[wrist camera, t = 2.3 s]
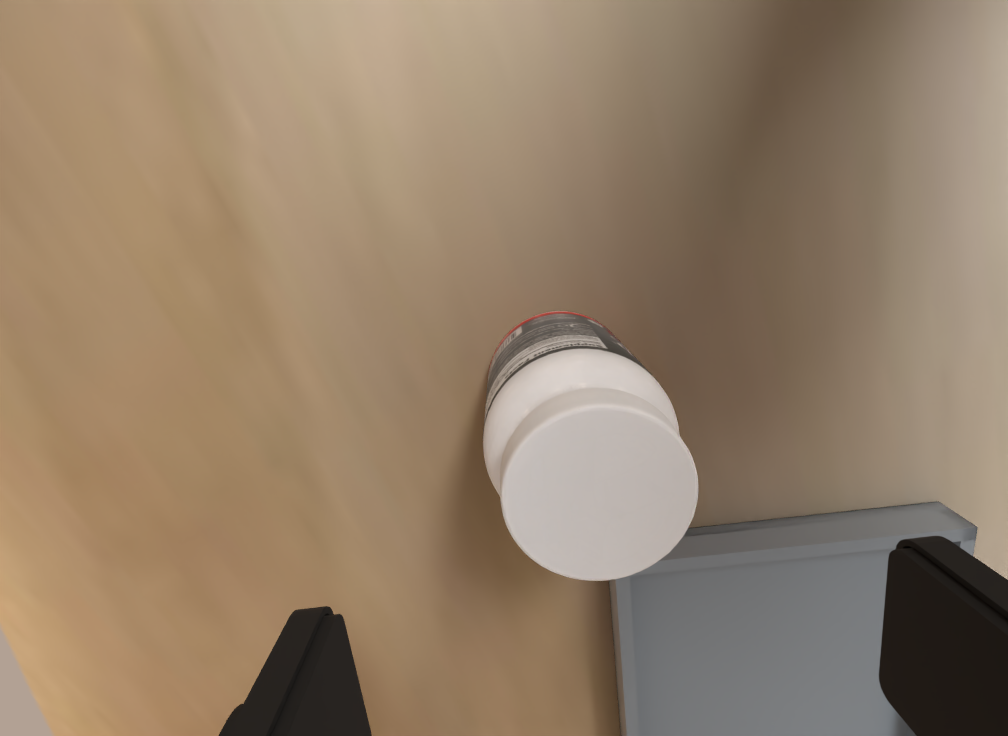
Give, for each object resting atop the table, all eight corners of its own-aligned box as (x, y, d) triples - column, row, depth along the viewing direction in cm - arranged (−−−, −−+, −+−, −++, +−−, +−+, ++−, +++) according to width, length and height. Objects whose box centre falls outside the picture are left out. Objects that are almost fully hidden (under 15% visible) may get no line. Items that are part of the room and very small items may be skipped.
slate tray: (605, 537, 24) (614, 565, 22) (938, 501, 23) (977, 527, 21) (624, 789, 28) (633, 831, 26) (904, 763, 28) (934, 804, 26)
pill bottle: (638, 418, 22) (741, 571, 13) (511, 453, 23) (517, 627, 13) (606, 289, 21) (697, 353, 11) (470, 330, 21) (445, 426, 12)
